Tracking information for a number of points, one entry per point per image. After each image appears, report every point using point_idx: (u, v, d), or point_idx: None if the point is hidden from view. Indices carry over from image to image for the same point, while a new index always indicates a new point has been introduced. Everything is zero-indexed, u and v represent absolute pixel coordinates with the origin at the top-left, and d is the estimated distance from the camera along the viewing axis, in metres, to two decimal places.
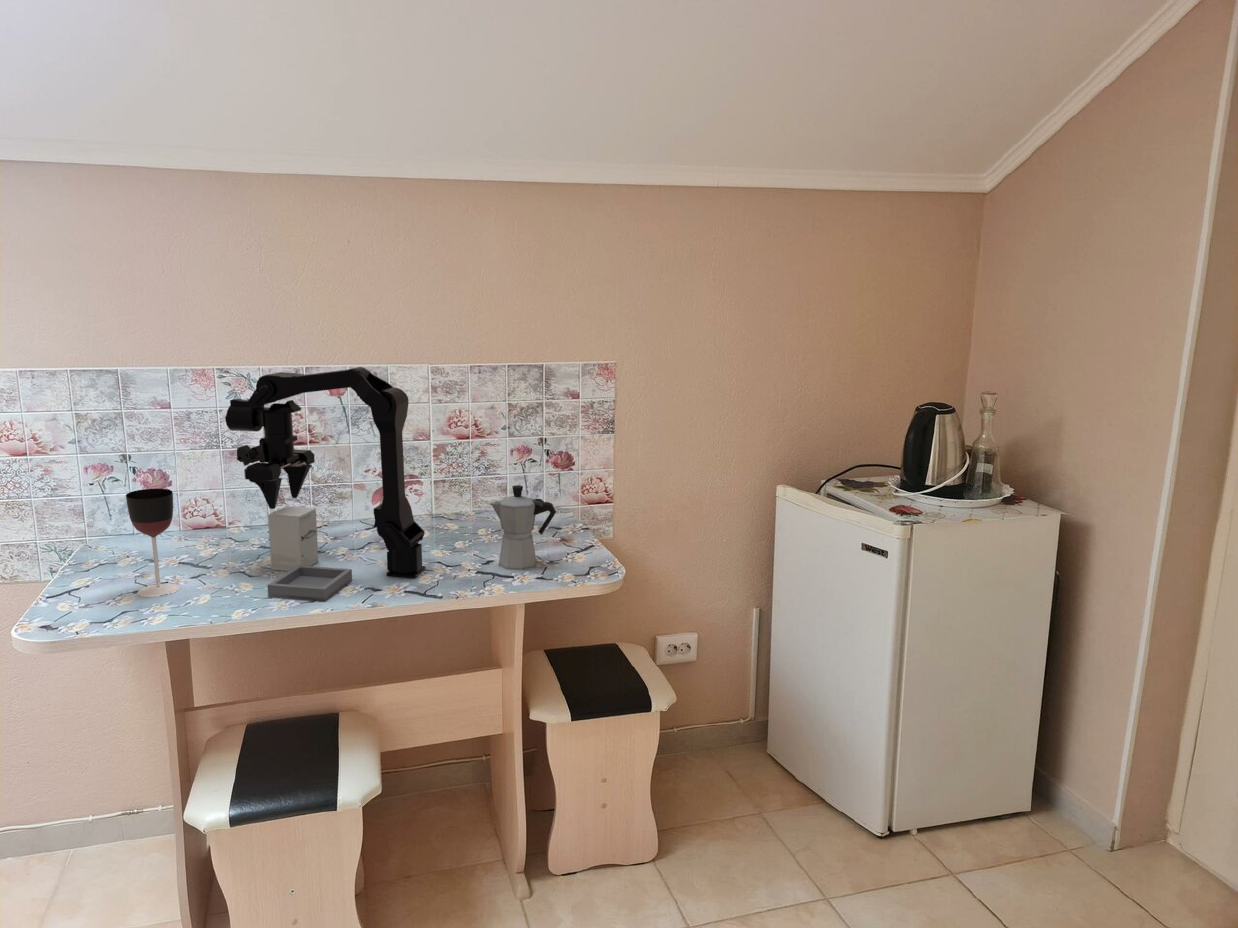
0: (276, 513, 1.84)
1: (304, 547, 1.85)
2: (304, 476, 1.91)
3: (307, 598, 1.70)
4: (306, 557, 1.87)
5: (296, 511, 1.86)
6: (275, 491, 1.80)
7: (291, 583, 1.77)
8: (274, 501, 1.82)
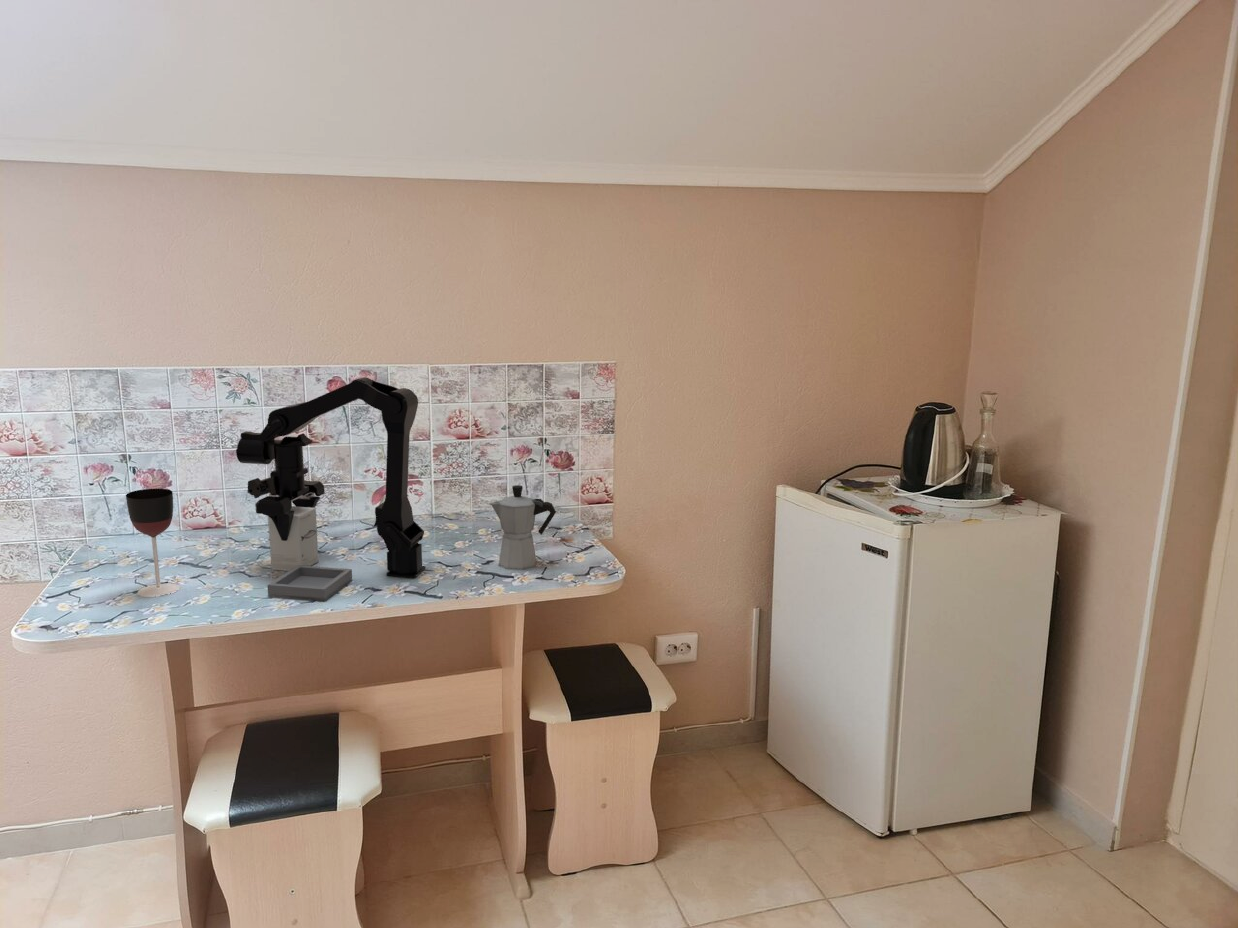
0: None
1: (304, 546, 1.85)
2: None
3: (307, 598, 1.70)
4: (306, 557, 1.87)
5: (296, 511, 1.86)
6: (287, 524, 1.81)
7: (291, 583, 1.77)
8: (286, 533, 1.83)
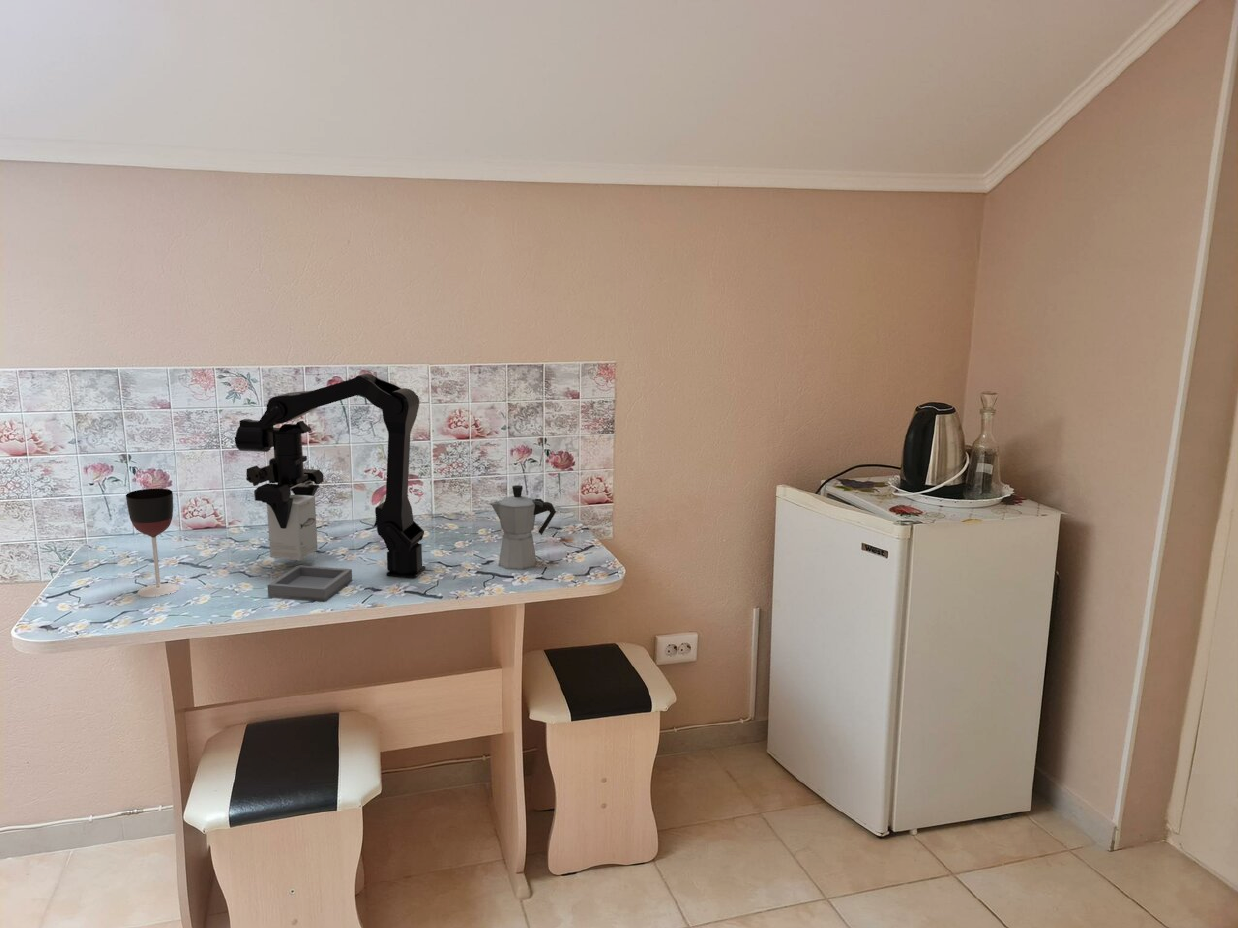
0: None
1: (303, 534, 1.85)
2: None
3: (307, 598, 1.70)
4: (306, 545, 1.86)
5: (295, 499, 1.85)
6: (286, 511, 1.81)
7: (291, 583, 1.77)
8: (285, 521, 1.82)
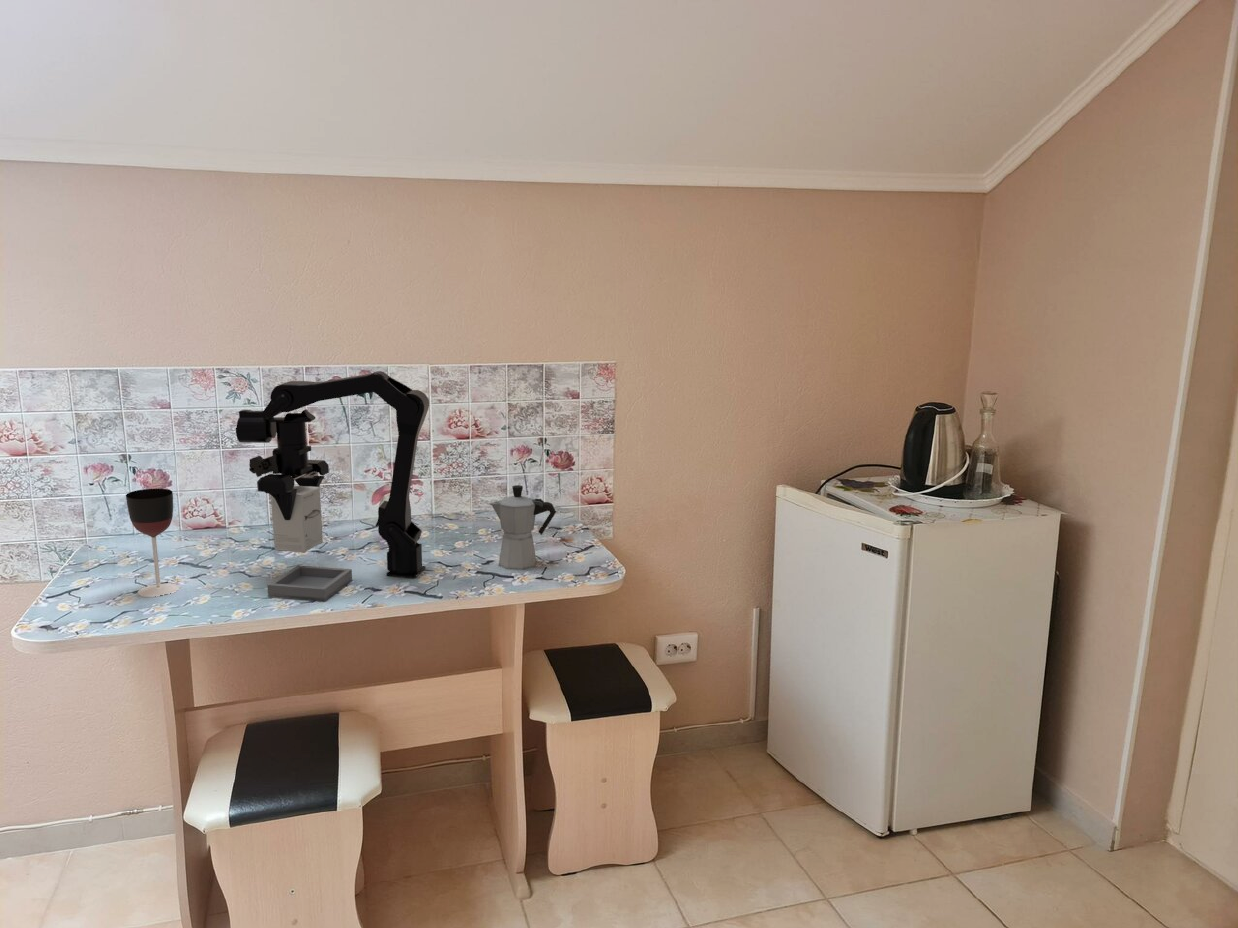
0: None
1: (308, 526, 1.80)
2: None
3: (307, 598, 1.70)
4: (310, 537, 1.82)
5: (299, 490, 1.81)
6: (290, 502, 1.76)
7: (291, 583, 1.77)
8: (289, 512, 1.78)
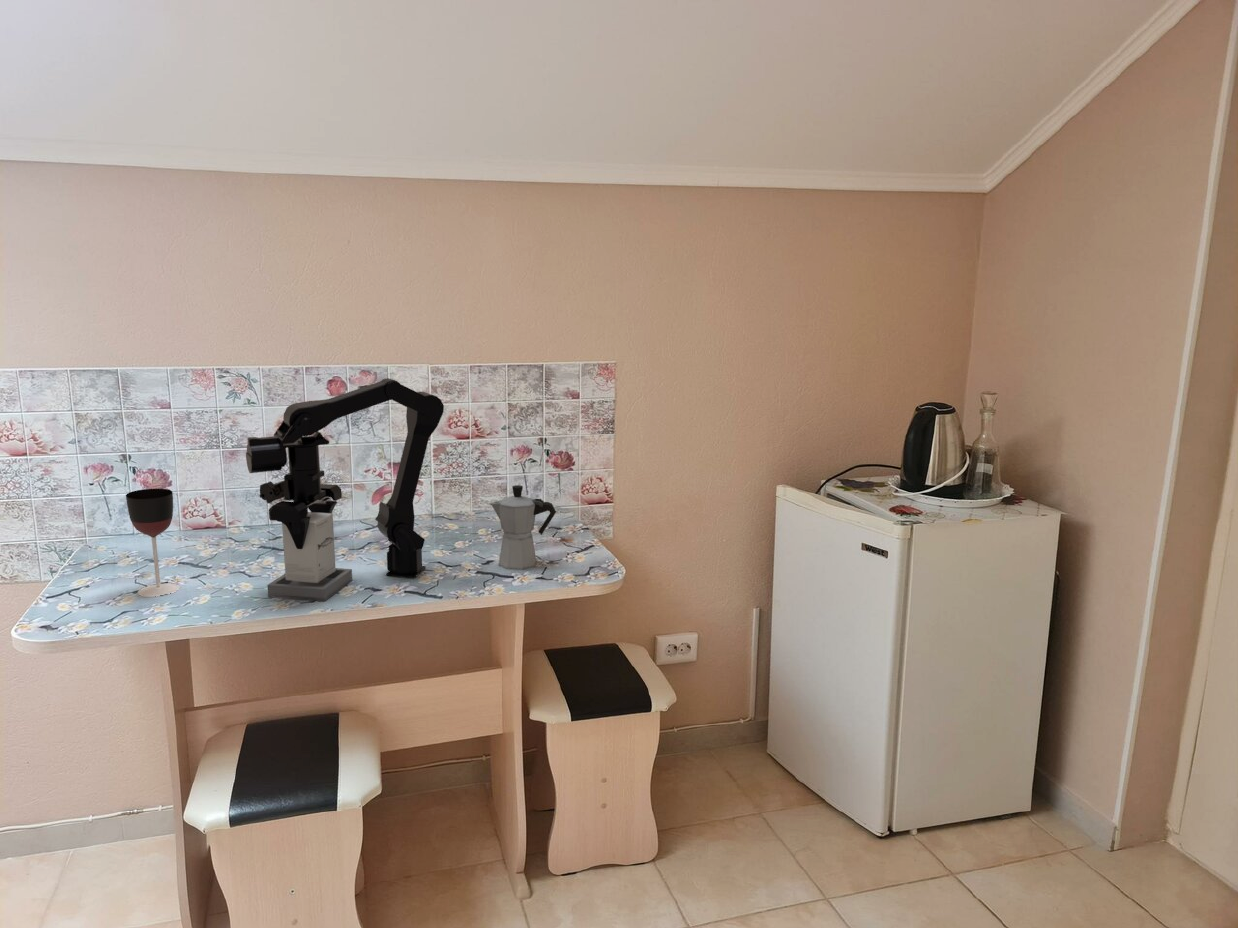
0: None
1: (321, 555, 1.72)
2: None
3: (307, 598, 1.70)
4: (323, 567, 1.73)
5: (312, 517, 1.72)
6: (303, 531, 1.68)
7: (291, 583, 1.77)
8: (302, 541, 1.69)
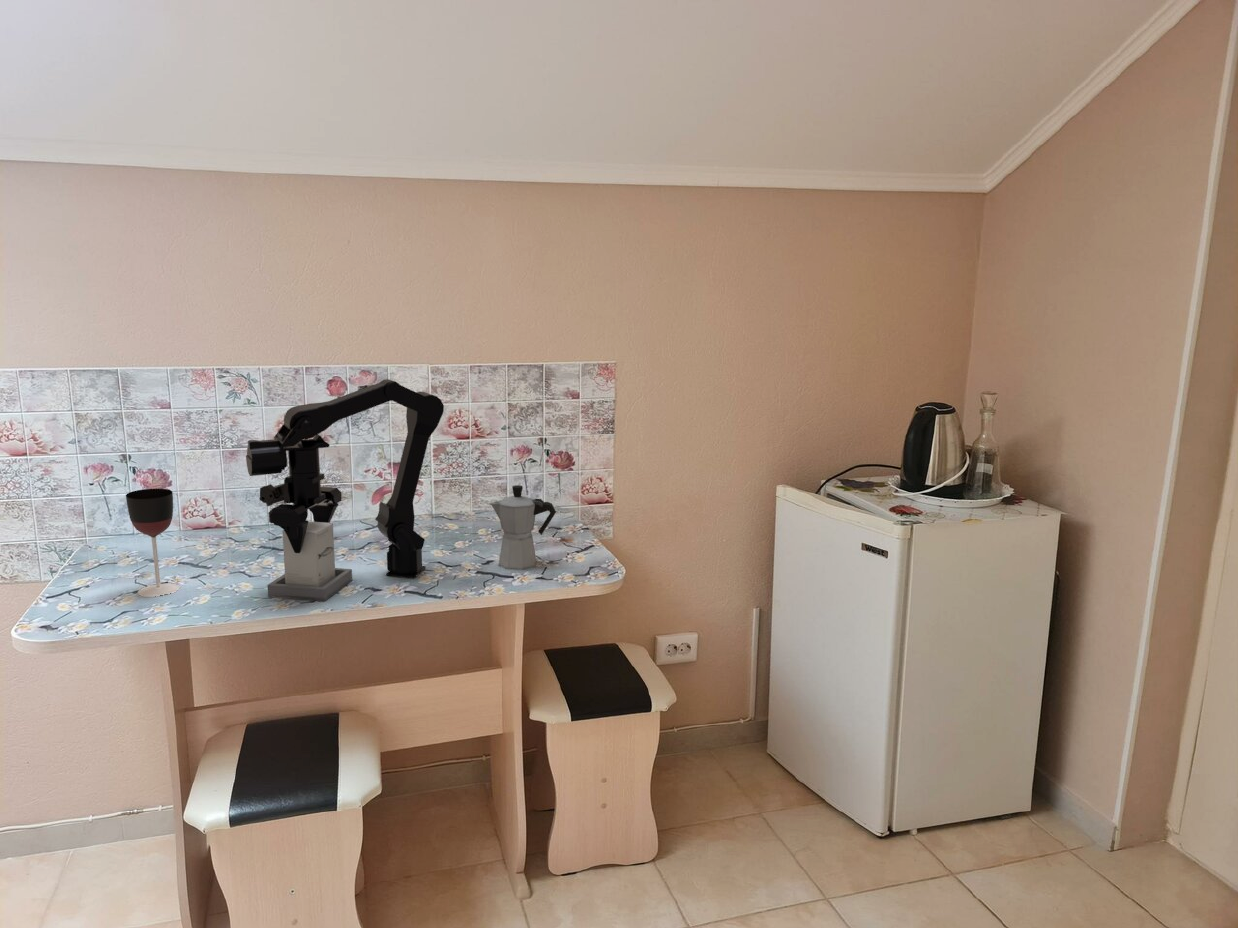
0: None
1: (321, 565, 1.72)
2: (330, 516, 1.78)
3: (307, 598, 1.70)
4: (323, 576, 1.74)
5: (312, 527, 1.73)
6: (301, 535, 1.67)
7: None
8: (300, 545, 1.69)
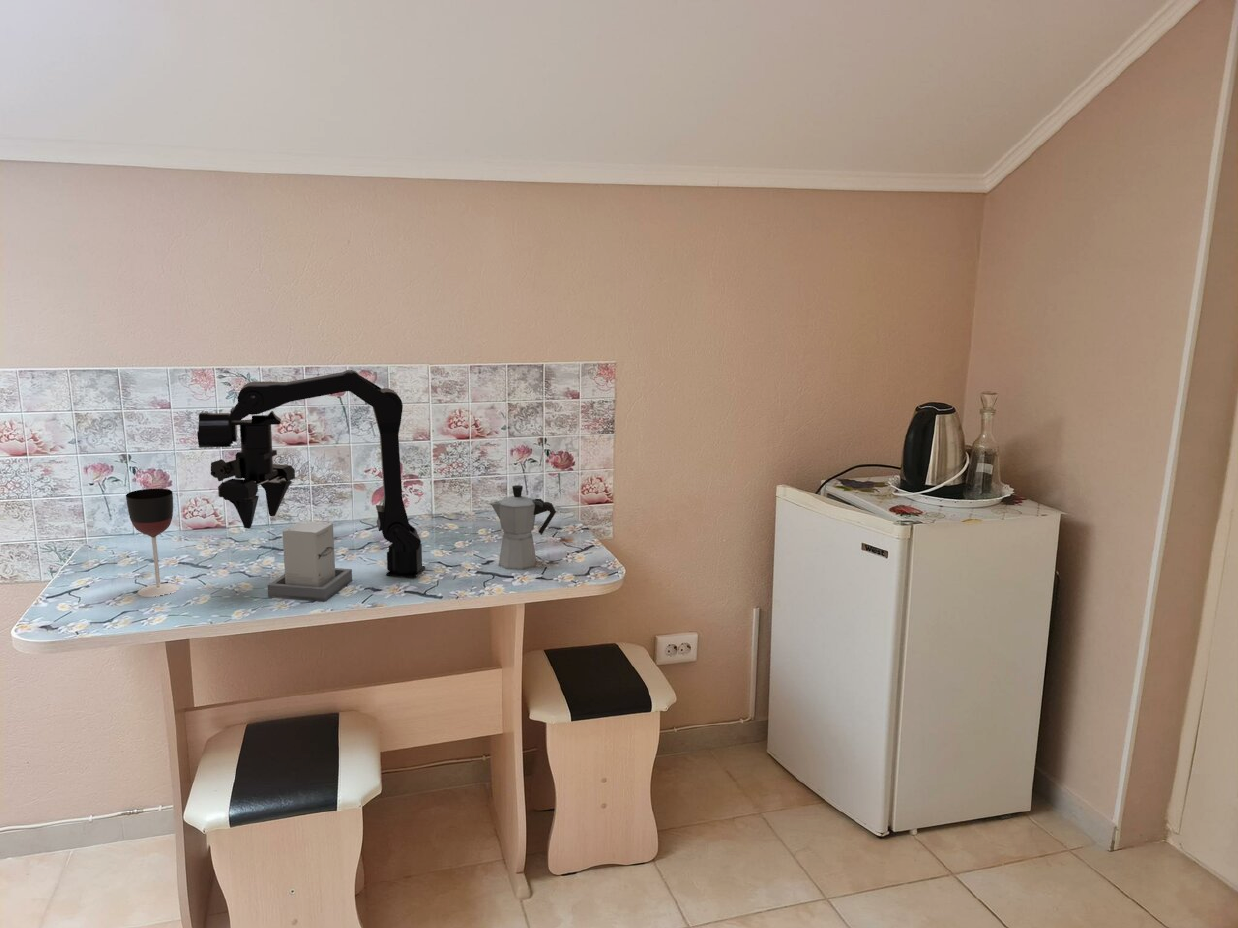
0: (291, 529, 1.71)
1: (321, 565, 1.72)
2: (283, 493, 1.78)
3: (307, 598, 1.70)
4: (323, 576, 1.74)
5: (312, 527, 1.73)
6: (251, 510, 1.67)
7: None
8: (250, 520, 1.69)
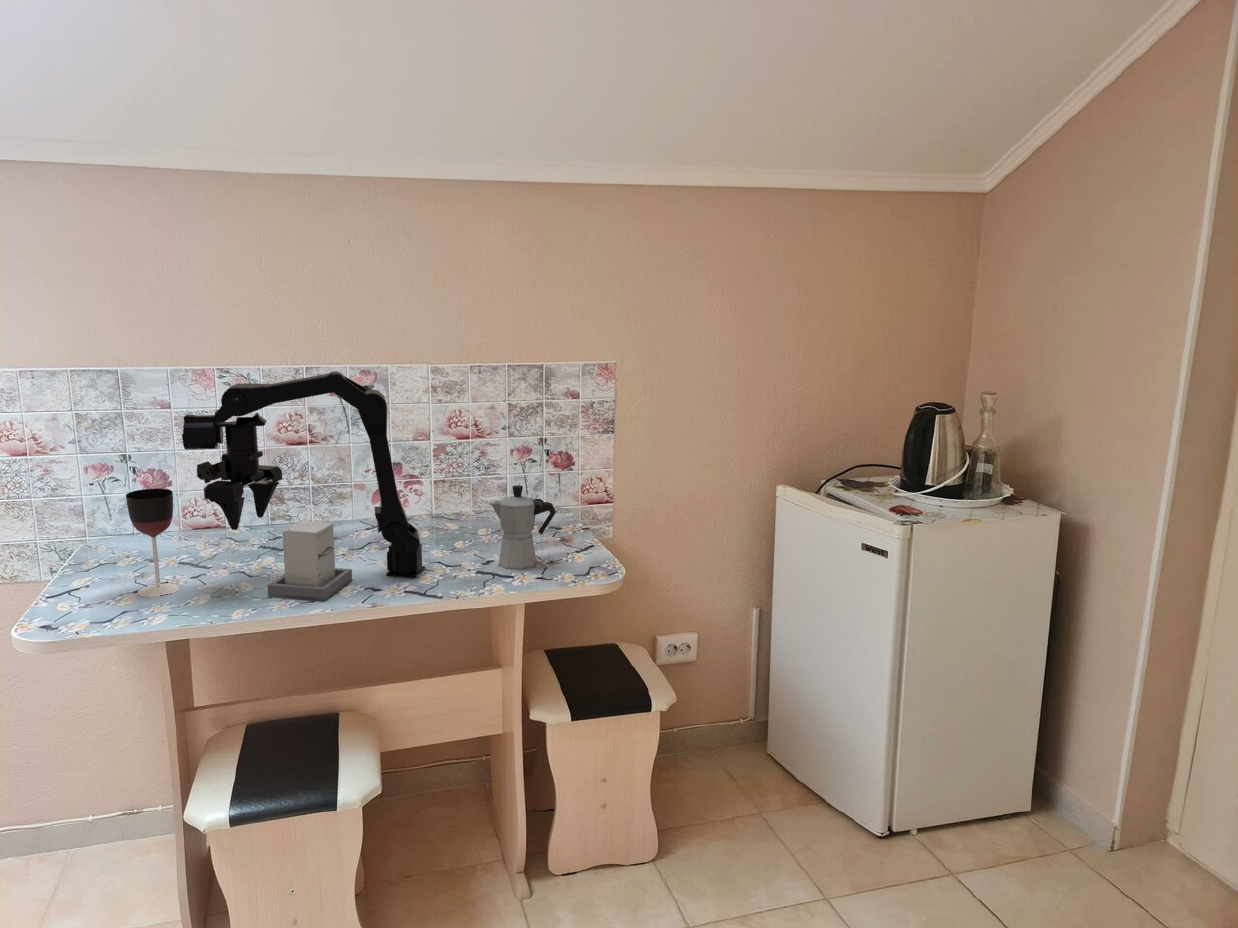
0: (291, 529, 1.71)
1: (321, 565, 1.72)
2: (270, 494, 1.79)
3: (307, 598, 1.70)
4: (323, 576, 1.74)
5: (312, 527, 1.73)
6: (237, 511, 1.68)
7: None
8: (236, 522, 1.69)
